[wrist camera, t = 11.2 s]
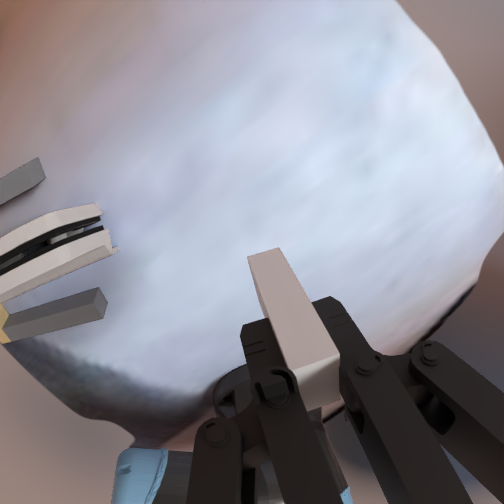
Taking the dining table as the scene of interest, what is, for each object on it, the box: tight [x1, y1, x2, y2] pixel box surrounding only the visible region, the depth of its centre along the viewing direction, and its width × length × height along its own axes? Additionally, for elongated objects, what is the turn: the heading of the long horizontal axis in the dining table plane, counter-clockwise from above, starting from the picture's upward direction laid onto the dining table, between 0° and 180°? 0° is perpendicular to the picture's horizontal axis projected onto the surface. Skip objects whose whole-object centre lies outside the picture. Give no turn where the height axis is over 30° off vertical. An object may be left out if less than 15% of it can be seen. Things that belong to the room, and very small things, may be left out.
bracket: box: [0, 157, 108, 344], centre depth 23 cm, size 16×16×2 cm
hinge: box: [0, 203, 119, 303], centre depth 21 cm, size 17×5×10 cm, turn 106°
